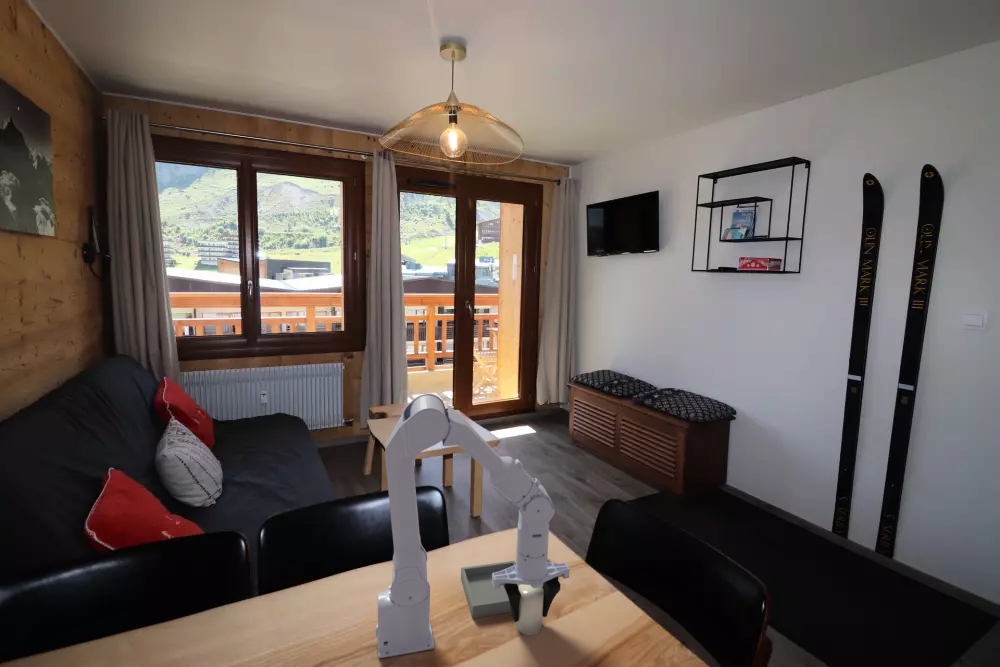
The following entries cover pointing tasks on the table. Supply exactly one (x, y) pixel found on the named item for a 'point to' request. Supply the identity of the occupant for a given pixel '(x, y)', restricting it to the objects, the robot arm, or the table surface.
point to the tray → (485, 589)
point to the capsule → (530, 610)
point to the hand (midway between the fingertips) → (529, 615)
